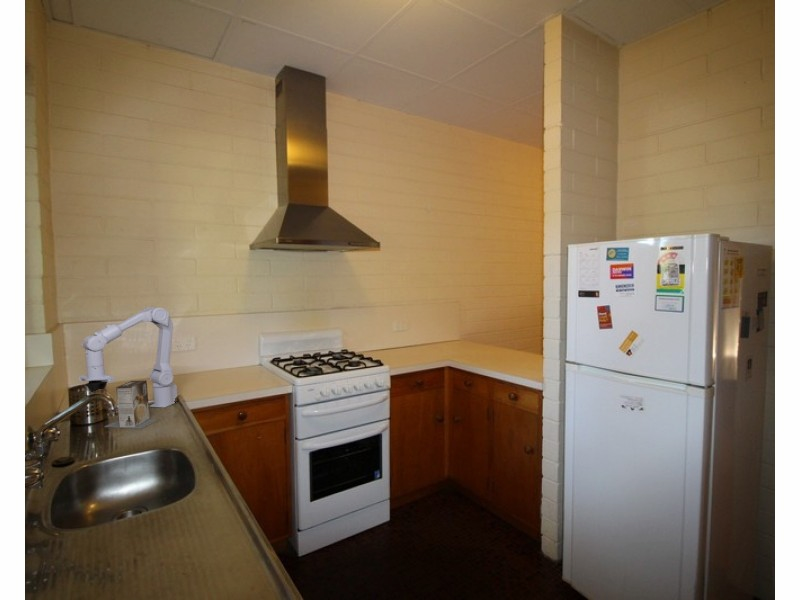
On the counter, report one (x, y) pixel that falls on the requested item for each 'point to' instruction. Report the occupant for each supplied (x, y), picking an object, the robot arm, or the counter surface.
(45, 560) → the counter surface
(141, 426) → the mat
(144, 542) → the counter surface
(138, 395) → the coffee box
